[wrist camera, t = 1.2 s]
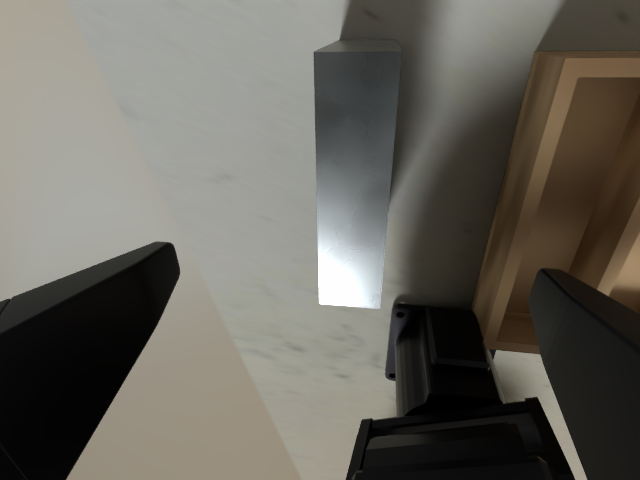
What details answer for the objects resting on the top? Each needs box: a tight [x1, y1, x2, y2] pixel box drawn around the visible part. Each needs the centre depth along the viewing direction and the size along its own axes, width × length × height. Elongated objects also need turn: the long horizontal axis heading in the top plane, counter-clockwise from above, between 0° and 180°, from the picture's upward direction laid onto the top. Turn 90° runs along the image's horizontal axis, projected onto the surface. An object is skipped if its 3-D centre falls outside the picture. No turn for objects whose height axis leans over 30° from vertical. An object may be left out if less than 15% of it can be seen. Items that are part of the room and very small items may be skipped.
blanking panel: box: [314, 39, 402, 309], centre depth 15 cm, size 9×2×7 cm, turn 1°
